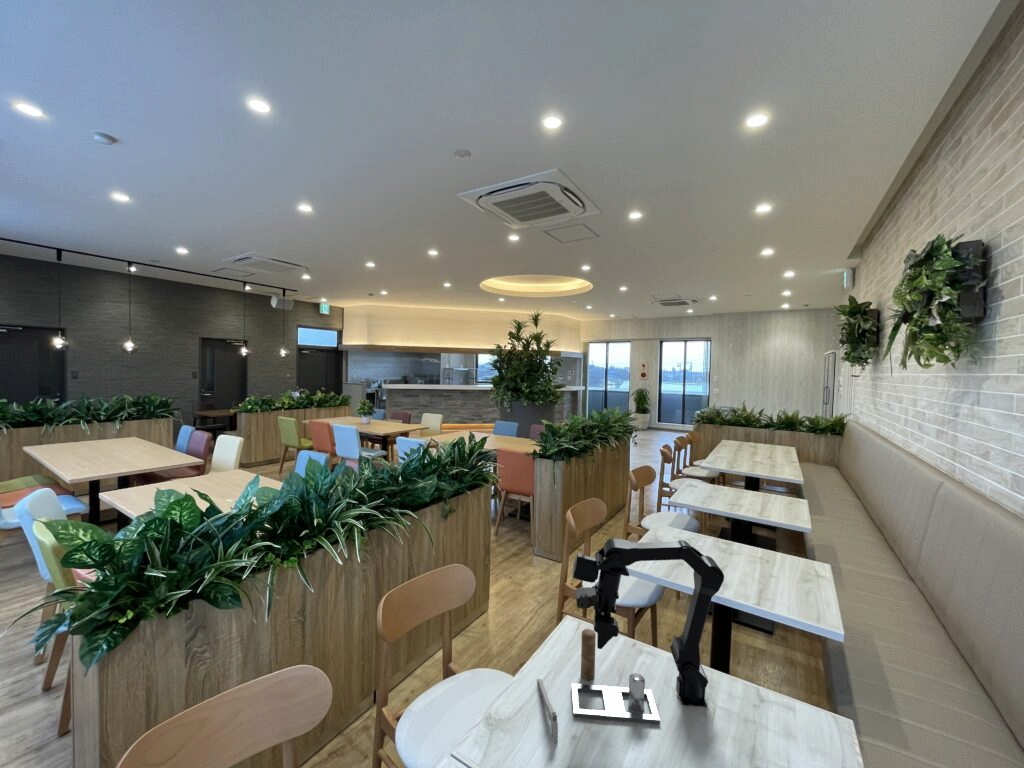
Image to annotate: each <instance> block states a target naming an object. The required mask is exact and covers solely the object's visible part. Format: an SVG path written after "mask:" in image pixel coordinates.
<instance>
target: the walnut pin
mask: <svg viewBox="0 0 1024 768" xmlns="http://www.w3.org/2000/svg"><path fill="white" fill-rule="evenodd" d="M596 634H597V632H595V631H594V629H593V630H592V629H589V628H586V629H583V630H582V631H581V648H580V649H581V650H580V651H581V654H580V656H581V657H580V677H581V679H583V680H584V681H587V682H590V681H593V680H594V679H595V676H596V674H595V673H596V672H595V671H596V670H595V668H596V639H597V637H596Z"/></svg>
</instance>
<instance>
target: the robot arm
mask: <svg viewBox="0 0 1024 768" xmlns="http://www.w3.org/2000/svg"><path fill="white" fill-rule="evenodd" d="M678 560H679V561H684V562H685V563H686V564H687V565H688V566H689V567H690V568H691V569H692V570H693V583H694V586H693V587H694V589H693V592H692V596H691V600H690V604H689V607H688V612H687V615H686V619H685V621H684V622H685V623H684V626H683V630H682V633H681V634H680V636H676V635H673V636H672V643H671V645H670V646H669V649H670V651H671V654H672V658H673V660H674V663H675V667H676V670H677V671H678V672H677V673H678V675H677V676H676V681H675V682H676V685H675V688H676V689H675V691H676V693H677V695H678V697H679V698H680V701H681V704H682V705H684V706H693V707H694V706H695V707H705V708H706V707H708V702H707V701H706V688H707V686H708V683H709V680H708V677H707V675H706V673H705V671H704V668H703V666H702V664H701V653H700V651H701V649H700V644H701V639H702V636H703V633H704V629H705V628H704V627H705V624H706V620H707V618H708V617H707V616H708V614H709V610H710V609H709V608H710V605H711V602H712V598H713V597H714V596H715V595H716V594H717V593H718V592H719V591H720V589H721V587H722V585H723V583H724V581H725V574H724V572H723V571H722V569H721V567H720V566H719V565H718V564H717V562H716V561H715V560H714V559H713V558H712V557H711V556H709V555H704V554H703V553H702V552H701V551H699V550H698V549H696V548H695V547H694V546H691V544H690V543H689V542H688V541H687V540H684V539H683V540H682V539H681V540H679V539H678V540H675V541H655V542H654V541H653V542H650V541H649V542H632V541H630V540H627V539H621V538H609V539H607V540H606V542H605V543H604V545H603V546H602V547H601V548H600V549H599V550H598V551H597V552H595V554H594V557H593V556H589V555H584V554H582V553H579V552H578V553H576V557H575V560H574V561H573V567H572V576H571V577H572V579H574V580H578V581H581V582H582V581H584V582H587V583H591V584H593V583H595V584H594V585H593V586H591V587H590V586H588V587H579V588H576V589H575V590H574V595H575V596H574V597H575V602H576V606H577V608H578V609H581V610H582V609H583V610H584V609H590V608H592V607H593V610H594V618H593V623H592V624H593V625H592V626H593V631H594V632H595V633H596V634H597V637H596V639H597V649H599V650H602V649H603V648H604V647H605V646H606V645H607V644H608V643H609V642H610V641H611V640H612V639H613V638H617V637H618V636H619V632H620V628H619V622H618V620H617V618H615V617H613V616H612V613H613V614H616V612H617V608H616V603H617V600H619V597H620V594H619V590H620V583H621V578H622V576H624V577H629V576H630V573H629V569H628V567H629V566H630V565H633V564H635V563H637V562H648V561H653V562H654V561H655V562H656V561H678ZM597 580H598V581H597Z"/></svg>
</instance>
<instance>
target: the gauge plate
mask: <svg viewBox="0 0 1024 768" xmlns="http://www.w3.org/2000/svg"><path fill="white" fill-rule="evenodd" d="M579 693H584V694H585V693H586V694H599V695H602V699H603V704H604V705H603V707H604V710H601V709H600V710H598V709H588V708H580V706H579V704H580V703H579ZM623 697H629V687H623V686H610V685H609V686H608V685H599V684H598V685H597V684H596V685H595V684H585V683H584V684H583V683H573V682H572V683H571V699H572V701H571V702H572V714H573V718H576V719H577V718H579V719H580V718H581V719H588V720H589V719H590V720H591V719H592V720H599V721H613V722H614V721H615V722H625V723H626V722H627V723H637V724H638V723H639V724H648V725H649V724H650V725H661V718H660V716H659V712H658V709H657V705H656V703H655V699H654V696H653V692H652V689H650V688H649V689H647V688H645V690H644V698H646V701H647V705H648V709H649V711H650V714H647V713H635V712H626V709H625V705H624V700H623Z"/></svg>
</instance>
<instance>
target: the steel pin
mask: <svg viewBox="0 0 1024 768" xmlns="http://www.w3.org/2000/svg"><path fill="white" fill-rule="evenodd" d="M628 678H629V679H628V680H629V681H628V688H629V696H628V703H627V704H628V708H629V710H630V711H631V712H632V713H637V714H642V713H643V711H645V710H644V709H645V697H644V690H645V689H646V688H645V685H646V681H645V680H646V679H645V677H644V675H642V674H640V673H637V672H632V673H630V675H629V677H628Z"/></svg>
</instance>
